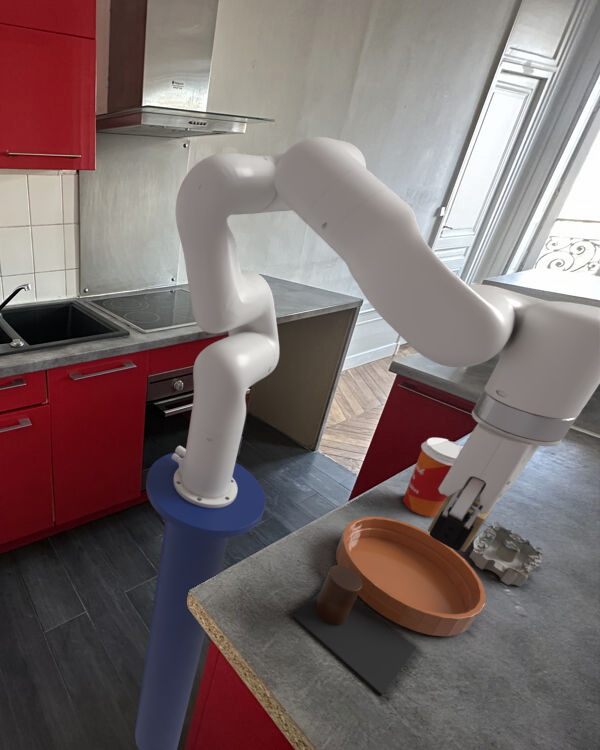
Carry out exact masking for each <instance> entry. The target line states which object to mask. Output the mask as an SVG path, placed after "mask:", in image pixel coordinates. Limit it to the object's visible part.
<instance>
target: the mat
mask: <svg viewBox="0 0 600 750" xmlns="http://www.w3.org/2000/svg"><path fill="white" fill-rule="evenodd" d="M320 592H321V589H320V590H319V591H318V592H317V593H316V594H315V595H314V596H313V597H311V598H310V599H309V600H308V601H307V602H306V603H305V604H304V605H303V606H302V607H301V608H300V609H299V610H298V611H297V612H296V613H294V615H293V616H292V618H293V619H294V620H295V621H296V622H297V623H299V624H300V625H301V626H302V627H303V628H304V629H305V630H307V632H308V633H310V634H311V635H312V636H313V637H314V638H316V640H318V641H319V642H320V643H321V644H322V645H323V646H324V647H326V648H327V649H328V650H329V651H330V652H331V653H332V654H334V655H335V656H336V657H337V659H339V660H340V661H341V662H343V664H345V665H346V666H347V667H348V668H349V669H350V670H351V671H353V672H354V674H356V675H357V676H358V677H359V678H360V679H362V680H363V681H364V682H365V683H366V684H367V685H368V686H370V688H371V689H372V690H374V692H376V693H377V694H378V695H379V696H381V697H382V696H383V695H384V694H385V692H386V691H387V690H388V688H389V687H390V685H391V684H392V682H393V681H394V679H395V678H396V677H397V676H398V674H399V673H400V671H401V670H402V668H403V667H404V666H405V665H406V663H407V662H408V660H409V659H410V657H411V656H412V655H413V654H414V652H415V650H416V649H417V647H416V646H414V645H413V644H412V643H411V642H409V641H408V640H407V639H406V638H405V637H403V636H402V635H401V634H399V633H398V632H397V631H396V630H394V629H393V628H391V627H390V626H388V625H387V624H386V623H385V622H383V621H382V620H381V619H380V618H378V617H377V616H376V615H374V614H373V613H372V612H371V611H369V610H368V609H366V608H365V607H364V606H362V605H361V604H360V603H359V602H357V601H356V600H355V602H354V604H353V606H352V608H351V610H350V612H349V614H348V617H347V619H346V621H345V623H344V624H343V625H340V626H334V625H331V624H329V623H327V622H325V621H324V620H323V619H322V618H321V617H320V616H319V615H318V614H317V612H316V609H315V604H316V601H317V599H318V596H319V594H320Z"/></svg>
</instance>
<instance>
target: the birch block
mask: <svg viewBox="0 0 600 750" xmlns="http://www.w3.org/2000/svg"><path fill="white" fill-rule="evenodd" d="M461 494H462V493H460V494H459V495H461ZM453 495H454V493H453V494H452V495H450V496H447V497H446V499H445V500H444V502H443V503H442V505H441V507H440V509H439V511H438V512H437V514H436V516H434V518H433V520H432V522H431V524H430V526H429V527H428V529H427V533H430V532H431V530H432V528H433V526H434V524H435V523H436V521H437V519H438V517H439V515H440V514H441V512H442V511H444V510H445V509H446V507H447V505H448V503H449V502H450V500H451V498H452V496H453ZM474 502H475V503H477V504H480V502H478V501H476V500H475V501H474ZM494 508H495V505H494V506H493V507H492V509H491V510H490V511H489V512H488V513H479V514H478V516H477V517H476V519H475V521H474V522H473V524H472V525H471V526H473V527H474V528H473V530H472V531H471V533H470V534H469V536H468V538H467V539H466V541H465V543H464V544H463V546H462V547H461V549H460V550H459V551H461V552H463V553H464V552H466V550H467V549H468V548H469V546H470V545H471V543H473V542H474V540H475V538H476V537H477V536H478V533H479V531H480V530H481V528H482V527H483V525H484V524H485V522H486V520H487V518H488V517H489V515H491V512H492V511H493V510H494ZM472 512H473V510H472V509H469V510H468V512H467V513H468V514H470V515H471V513H472ZM469 517H470V516H469Z"/></svg>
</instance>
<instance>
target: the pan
mask: <svg viewBox="0 0 600 750" xmlns="http://www.w3.org/2000/svg"><path fill="white" fill-rule="evenodd" d="M335 551H336V552H335V553H336V554H335V559H336V563H337V565H340V566H344V567H347V568H349V569H351V570H352V571H354V572H355V573H356V574H357V575H358V576H359V578H360V579H361V582H362V587H361V589H360V592H359V594H358V596H357V597H359V598H360V599H362V601H363V602H364V603H365V604H367V605H368V606H369V607H370V608H372V609H373V610H374V611H376V612H377V613H379V614H380V615H381V616H383V617H384V618H386V619H388V620H389V621H391V622H393V623H395V624H398V625H399V626H401V627H403V628H406V629H407V630H408V629H409V630H412V631H414V632H417V633H421V634H424V635H428V636H434V637H435V636H436V637H452V636H458V635H461V634H463V633H464V632H466V631H467V630H469V629H470V627H471V626H472V624H473V623H474V621H475V620H476V619H477V617H478V616H479V615H480V613H481V612H482V610H483V608H484V607H485V605H486V596H487V595H486V591H485V588H484V584H483V582H482V580H481V578H480V577H479V575H478V574H477V572H476V570H475V569H474V568H473V567H472V566H471V565H470V563H469V562H468V561H467V560H466V559H465V558H464V557H462V556H461V554H459V553H458V551H455V550H453V549H452V548H450V547H448V546H446V545H445V544H443V543H441V542H439V541H438V540H436V539H434V538H432V537H431V536H430V532H428V531H426V530H424V529H421V528H419V527H417V526H415V525H413V524H410V523H406V522H404V521H400V520H397V519H393V518H389V517H384V516H361V517H359V518H356V519H353V520H352V521H350V522H349V523H348V524H347V525H346V526H345V528H344V530H343V532H342V535H341V537H340V539H339V542H338V544H337V547H336V549H335Z"/></svg>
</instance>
